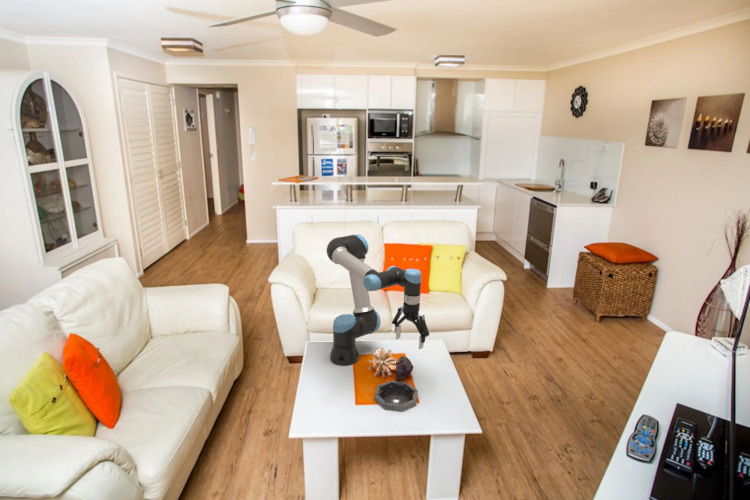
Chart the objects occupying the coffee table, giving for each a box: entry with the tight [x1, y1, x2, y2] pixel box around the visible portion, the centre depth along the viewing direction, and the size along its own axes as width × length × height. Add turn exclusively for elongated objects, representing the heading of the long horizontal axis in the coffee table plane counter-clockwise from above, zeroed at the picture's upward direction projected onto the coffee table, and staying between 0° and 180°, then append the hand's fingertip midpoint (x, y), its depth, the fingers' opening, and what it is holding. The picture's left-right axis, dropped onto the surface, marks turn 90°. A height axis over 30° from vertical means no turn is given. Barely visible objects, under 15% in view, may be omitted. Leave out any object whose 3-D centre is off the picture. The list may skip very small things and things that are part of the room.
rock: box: [393, 355, 414, 382], centre depth 220 cm, size 12×9×10 cm
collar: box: [373, 380, 419, 412], centre depth 203 cm, size 19×19×2 cm
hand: (409, 343), depth 211 cm, fingers open, 13 cm apart
